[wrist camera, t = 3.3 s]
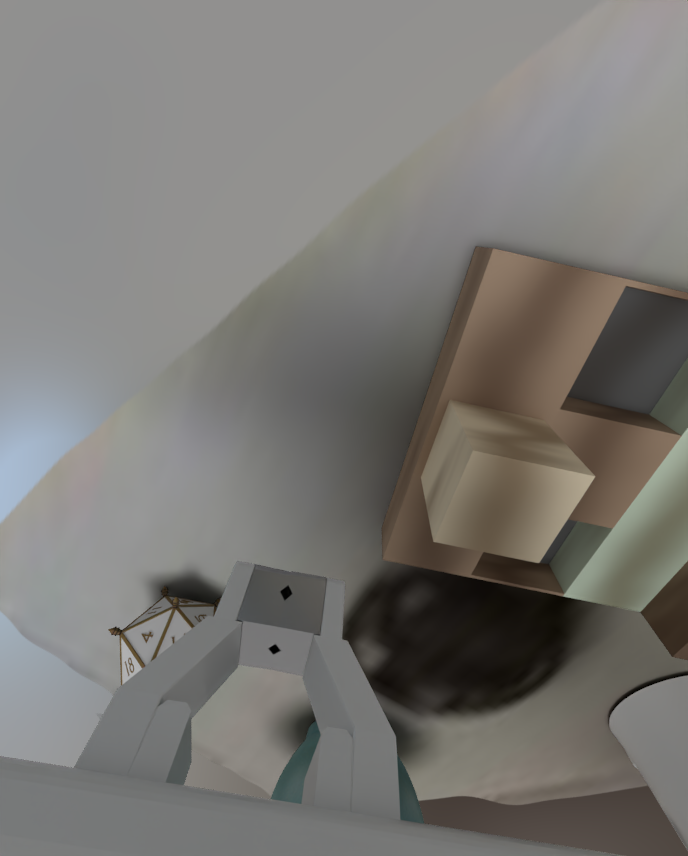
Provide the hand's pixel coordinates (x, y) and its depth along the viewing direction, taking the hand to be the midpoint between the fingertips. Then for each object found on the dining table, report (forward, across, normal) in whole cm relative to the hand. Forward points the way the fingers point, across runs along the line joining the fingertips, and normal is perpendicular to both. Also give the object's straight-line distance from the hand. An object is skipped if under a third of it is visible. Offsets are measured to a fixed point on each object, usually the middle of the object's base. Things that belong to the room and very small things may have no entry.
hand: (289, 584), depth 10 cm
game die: (+14, -8, -23) cm, 28 cm away
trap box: (+14, +15, 0) cm, 20 cm away
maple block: (+11, +8, 0) cm, 14 cm away
